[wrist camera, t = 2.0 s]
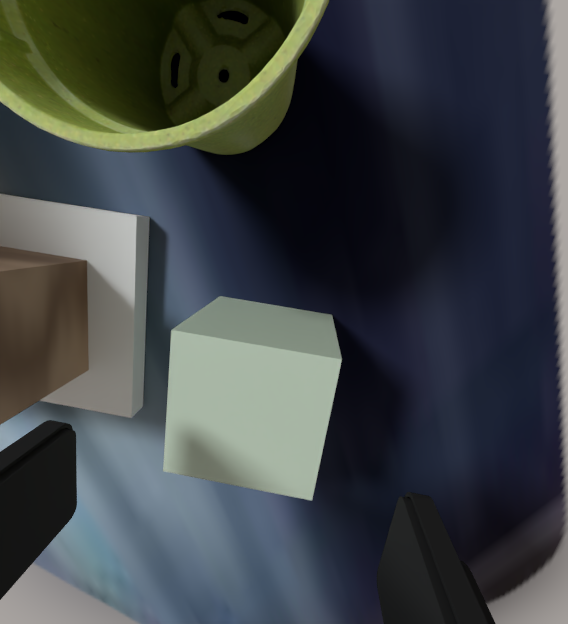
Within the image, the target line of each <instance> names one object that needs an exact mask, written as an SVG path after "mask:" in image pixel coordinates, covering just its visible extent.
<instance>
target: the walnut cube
mask: <svg viewBox="0 0 568 624" xmlns="http://www.w3.org/2000/svg"><path fill="white" fill-rule="evenodd" d="M88 370H89V356H88V294H87V260H82V259H76V258H70V257H64V256H58V255H52V254H46V253H40V252H33V251H27V250H21V249H15V248H9V247H3V246H0V424H2V423H4V422H5V421H7V420H8V419H10V418H12V417H13V416H15V415H17V414H18V413H20V412H21V411H23V410H25V409H26V408H28V407H30V406H31V405H33V404H34V403H36V402H38V401H39V400H41V399H42V398H44V397H46V396H47V395H49V394H51V393H52V392H54V391H55V390H57V389H59V388H60V387H62V386H64V385H65V384H67V383H68V382H70V381H72V380H73V379H75V378H77V377H78V376H80V375H81V374H83V373H85V372H86V371H88Z"/></svg>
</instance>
